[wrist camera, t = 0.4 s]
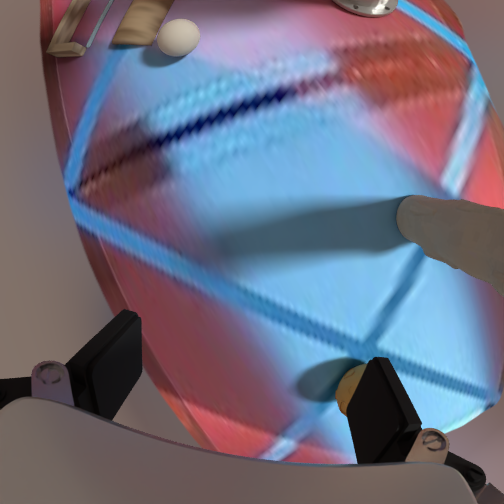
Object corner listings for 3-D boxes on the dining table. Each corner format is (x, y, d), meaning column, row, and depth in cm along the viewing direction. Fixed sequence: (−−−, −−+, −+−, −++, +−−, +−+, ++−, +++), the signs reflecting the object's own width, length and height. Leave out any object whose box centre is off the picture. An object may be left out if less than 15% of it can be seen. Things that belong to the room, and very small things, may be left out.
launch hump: (152, -1, 35) (136, -22, 27) (190, -1, 35) (177, -24, 27) (125, 53, 38) (103, 38, 30) (163, 56, 38) (144, 38, 30)
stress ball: (386, 375, 45) (410, 361, 37) (377, 426, 39) (401, 422, 31) (336, 366, 47) (352, 350, 39) (323, 419, 41) (338, 415, 33)
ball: (174, 28, 32) (160, 11, 27) (210, 32, 32) (200, 13, 27) (159, 60, 34) (143, 45, 28) (196, 64, 34) (183, 49, 28)
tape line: (117, -13, 30) (117, -13, 30) (122, -14, 30) (121, -14, 30) (86, 47, 33) (85, 47, 33) (89, 47, 33) (89, 46, 33)
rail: (95, -16, 29) (86, -23, 26) (123, -20, 29) (114, -28, 26) (57, 57, 34) (46, 52, 30) (83, 56, 34) (71, 50, 30)
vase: (431, 182, 35) (605, 211, 6) (444, 236, 37) (595, 315, 8) (384, 200, 37) (560, 257, 8) (399, 255, 38) (543, 372, 10)
